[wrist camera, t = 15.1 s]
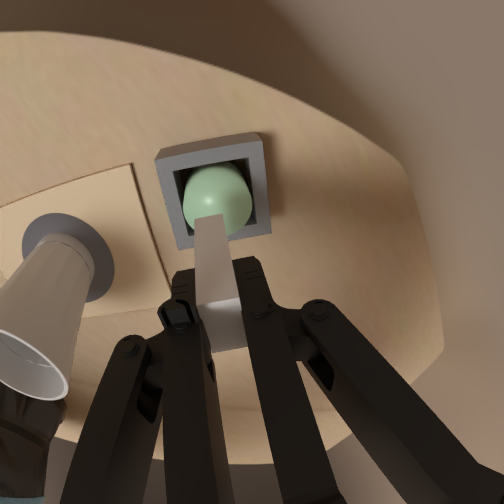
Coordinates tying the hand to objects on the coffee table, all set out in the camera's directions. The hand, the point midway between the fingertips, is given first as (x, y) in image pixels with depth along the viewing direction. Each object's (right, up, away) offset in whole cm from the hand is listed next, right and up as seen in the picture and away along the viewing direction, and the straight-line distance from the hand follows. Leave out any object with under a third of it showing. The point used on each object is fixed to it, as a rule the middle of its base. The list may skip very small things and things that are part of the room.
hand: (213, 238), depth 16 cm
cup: (-15, -2, +8) cm, 17 cm away
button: (-1, +4, +6) cm, 7 cm away
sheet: (-15, -1, +8) cm, 17 cm away
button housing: (-1, +5, +6) cm, 8 cm away
